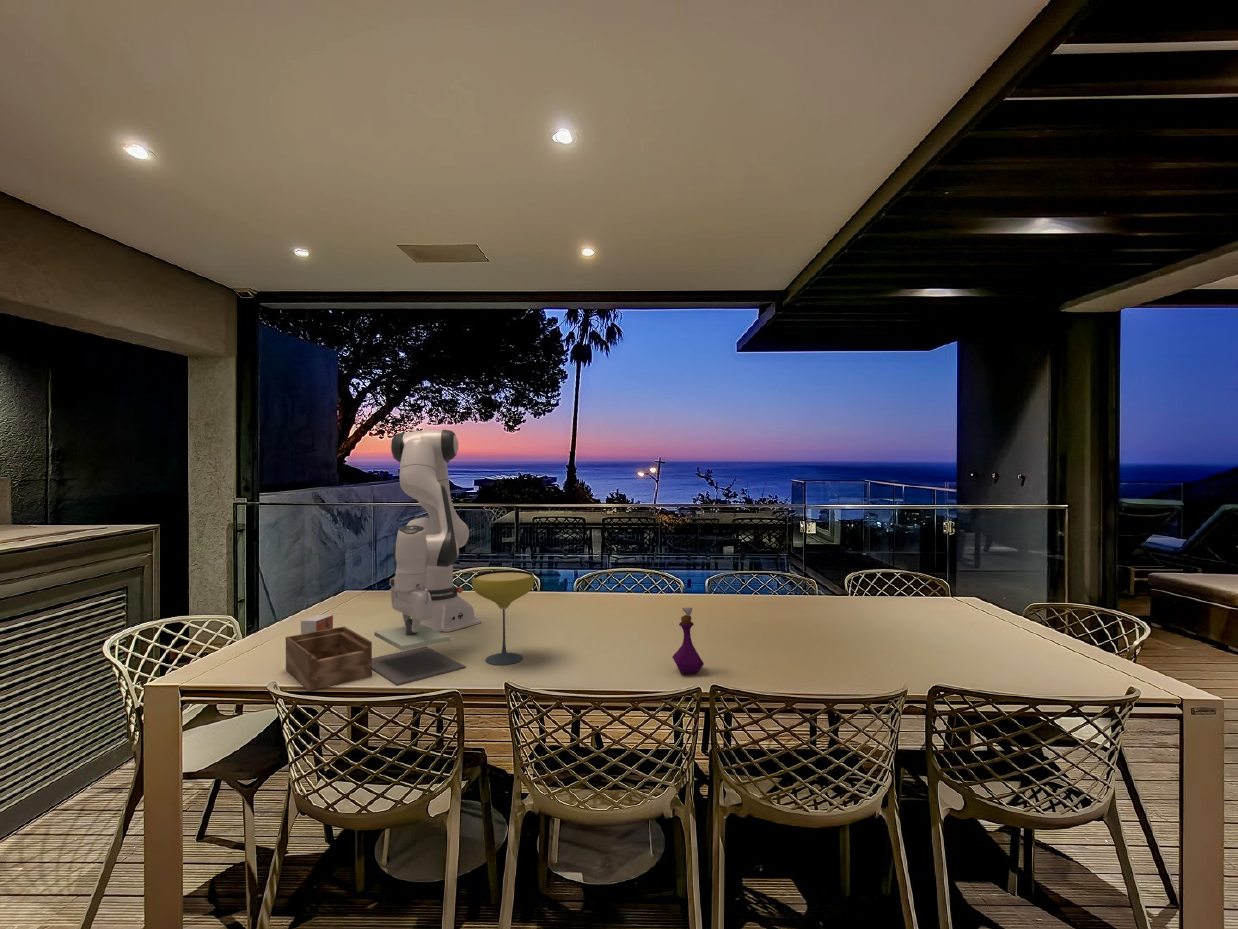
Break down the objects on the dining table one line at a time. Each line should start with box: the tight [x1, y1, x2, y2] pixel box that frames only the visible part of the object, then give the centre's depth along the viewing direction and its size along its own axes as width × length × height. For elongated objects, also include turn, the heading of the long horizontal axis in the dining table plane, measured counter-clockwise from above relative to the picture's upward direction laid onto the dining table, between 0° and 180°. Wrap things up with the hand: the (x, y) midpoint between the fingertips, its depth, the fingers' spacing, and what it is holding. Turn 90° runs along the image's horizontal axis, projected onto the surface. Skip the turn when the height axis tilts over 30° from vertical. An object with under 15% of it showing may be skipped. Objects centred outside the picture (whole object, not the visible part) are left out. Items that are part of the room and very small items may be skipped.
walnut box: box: [285, 626, 373, 692], centre depth 168 cm, size 16×22×9 cm
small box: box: [300, 614, 334, 634], centre depth 188 cm, size 8×6×10 cm
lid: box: [373, 618, 451, 652], centre depth 174 cm, size 14×20×5 cm
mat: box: [372, 646, 467, 687], centre depth 174 cm, size 20×26×1 cm
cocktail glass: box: [471, 569, 535, 666], centre depth 179 cm, size 18×18×25 cm
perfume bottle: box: [672, 607, 705, 676], centre depth 166 cm, size 8×8×18 cm
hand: (411, 630), depth 174 cm, fingers closed on lid, 3 cm apart
